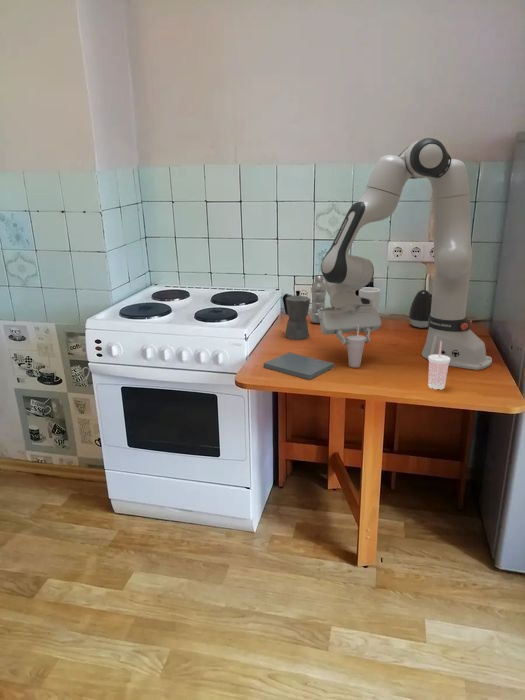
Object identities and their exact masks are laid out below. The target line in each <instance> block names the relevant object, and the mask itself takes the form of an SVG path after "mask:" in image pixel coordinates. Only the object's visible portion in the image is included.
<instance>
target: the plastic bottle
mask: <svg viewBox="0 0 525 700" xmlns="http://www.w3.org/2000/svg"><path fill="white" fill-rule="evenodd" d="M310 288H311V289H310V291H311V312H310V317H309V318H310V321H311V323H314V324H320V319H319V318H318V314H317V312H318V310H320V309H321V308H326V307H325V305H326V303H325V301H326V294H327V289H326V286H325V281H324V276H323V274H315V275H314V283H313V284H312V286H311V287H310ZM320 311H321V310H320Z"/></svg>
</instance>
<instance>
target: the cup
mask: <svg viewBox="0 0 525 700" xmlns="http://www.w3.org/2000/svg"><path fill="white" fill-rule="evenodd" d="M380 294H381V289H380V288H377V287H371V286H368V287H367V286H365V287H363V288H361V289H360V290H358V296H359V297H363V298H367V299H371V300H372V301H373V305H372V306H373V307H374V308H375V309H376V310H377V312H378V314H379V313H380V311H379V310H380V297H381V296H380ZM379 315H380V314H379Z"/></svg>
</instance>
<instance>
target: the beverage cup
mask: <svg viewBox="0 0 525 700" xmlns="http://www.w3.org/2000/svg"><path fill="white" fill-rule="evenodd" d="M441 346H442V341H440V348H439V355H438V354H434V355H430V356H428V359H427V360H428V384H427V386H429V387H428V388H430V389H432V388H433V389H432V390H437V389H440V390H443V389H445V388H446V387H445V386H446V382H447V376H448V370H449V367H450V366H449V362H450V357H448V356H445V355H441Z"/></svg>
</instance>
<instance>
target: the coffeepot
mask: <svg viewBox="0 0 525 700" xmlns="http://www.w3.org/2000/svg"><path fill="white" fill-rule="evenodd" d="M300 293H301V291H300V290H296V291H295V295H292V294H289V293H285V294H284V295H283V296H282V303H283V308H284V312H285V315H287V316H288V319H287V322H286V328H285V334H284V335H285V337H286V339H289V340H292V339H293V340H295V341H302V340H303V341H304V340H306V338H307V339H308V338H309V337H310V331H309V326H308V320H307V317H308V315H309V310H310V304H311V298H309V296H305V295H301V294H300Z"/></svg>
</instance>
